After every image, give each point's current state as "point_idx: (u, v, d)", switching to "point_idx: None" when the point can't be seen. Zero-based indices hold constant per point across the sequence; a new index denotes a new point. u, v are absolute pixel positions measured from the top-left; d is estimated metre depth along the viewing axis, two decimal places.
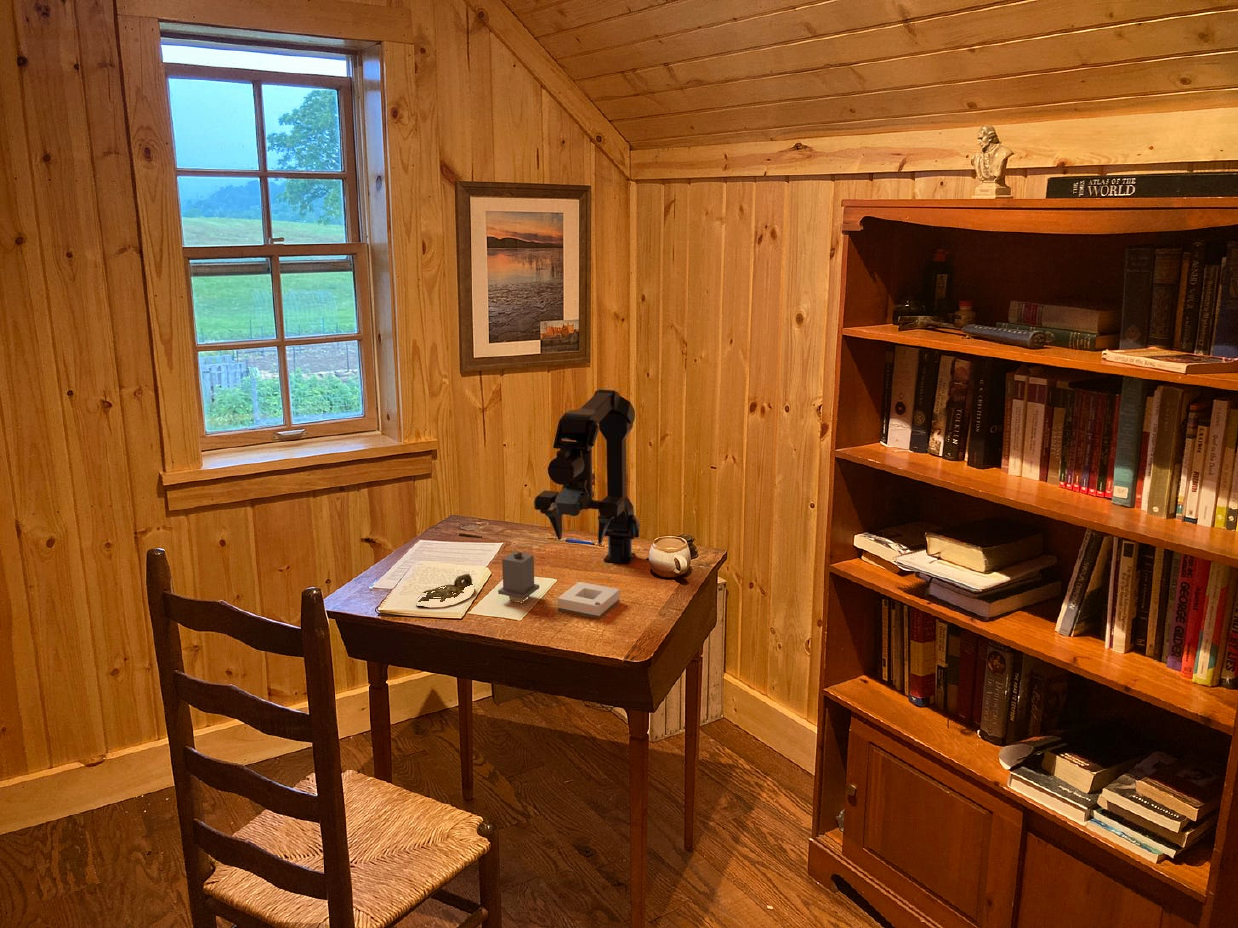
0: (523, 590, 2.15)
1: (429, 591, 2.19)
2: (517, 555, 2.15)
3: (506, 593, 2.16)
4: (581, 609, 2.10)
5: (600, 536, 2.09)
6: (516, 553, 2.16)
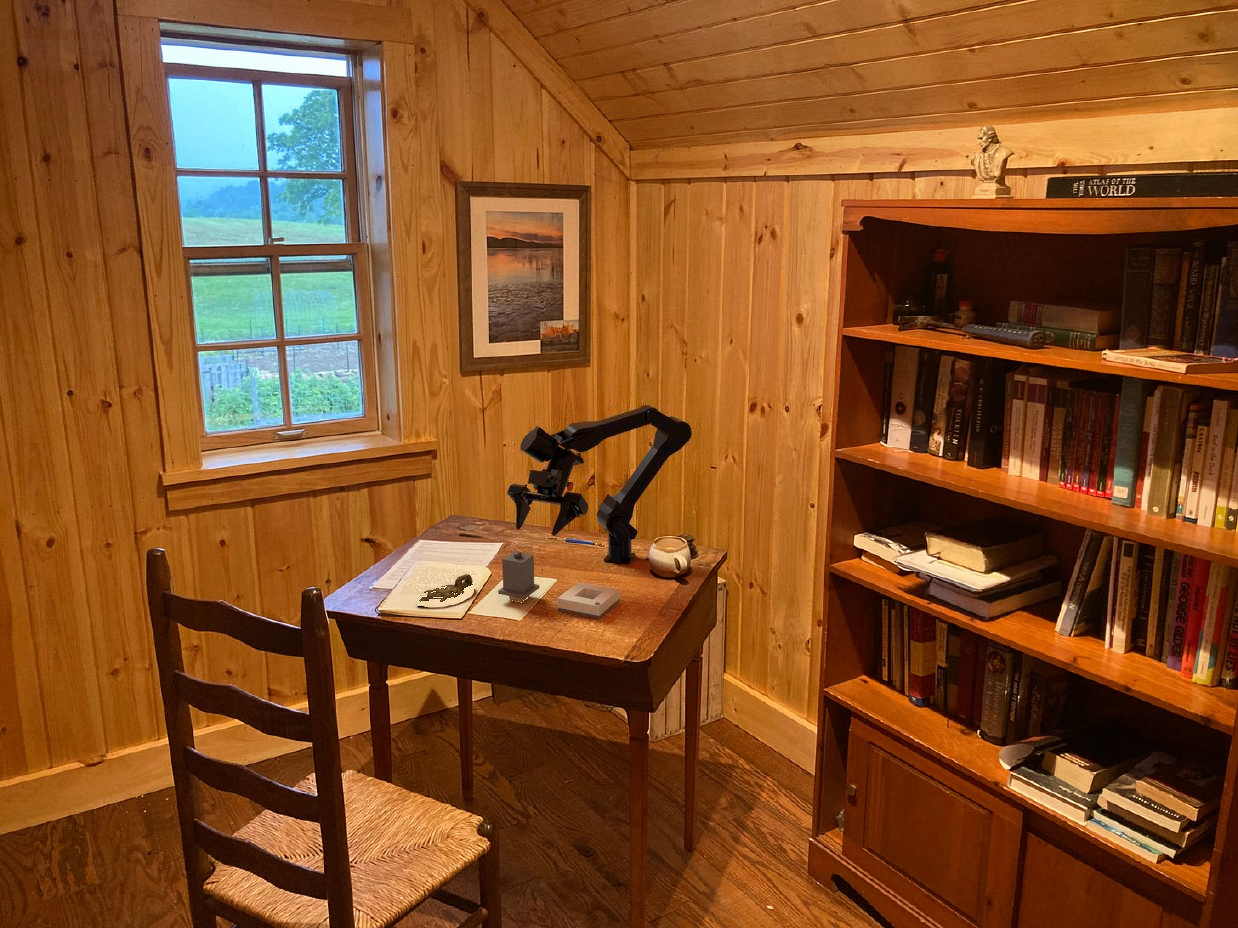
0: (523, 590, 2.15)
1: (429, 591, 2.19)
2: (517, 555, 2.15)
3: (506, 593, 2.16)
4: (581, 609, 2.10)
5: (556, 525, 2.20)
6: (516, 553, 2.16)
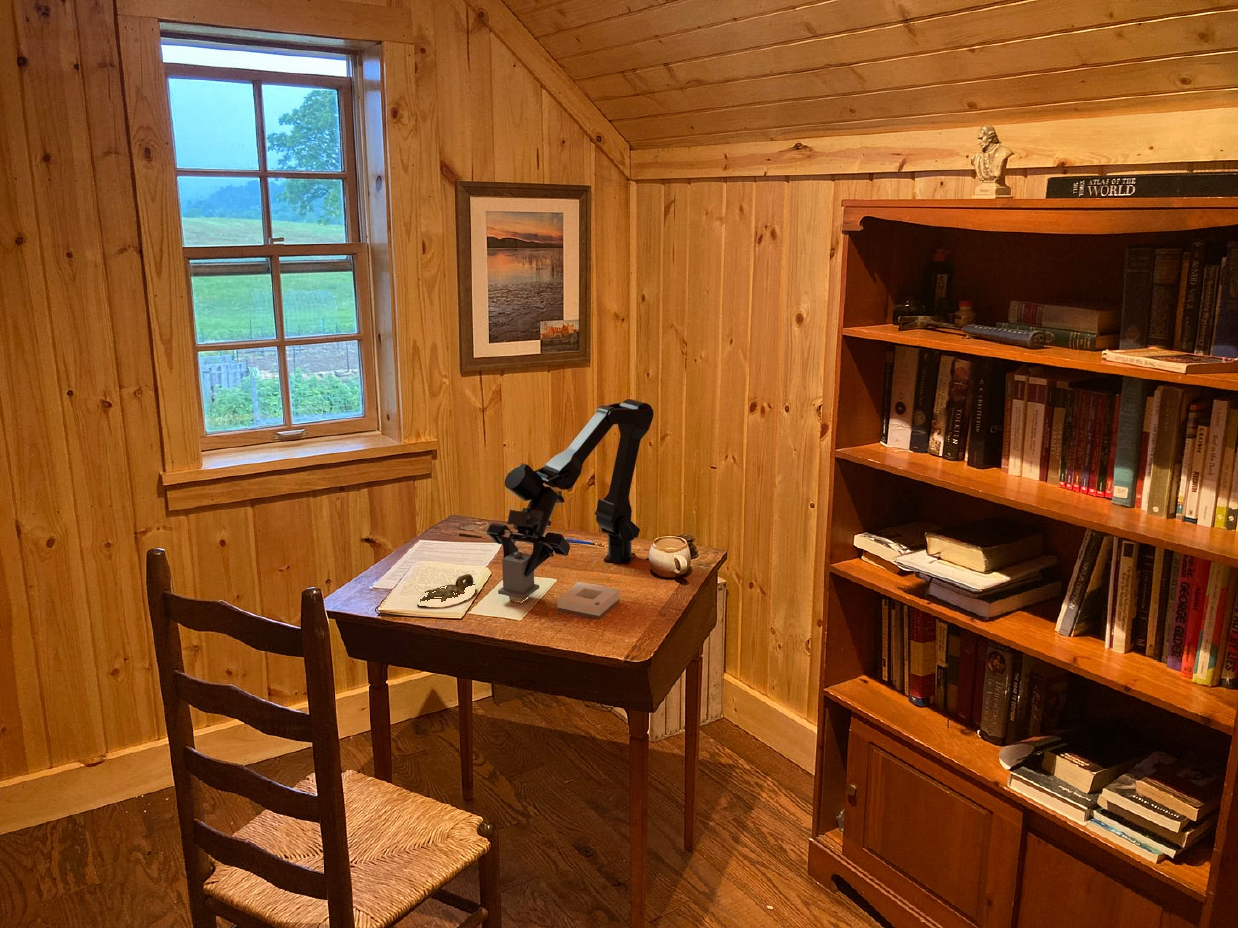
0: (523, 590, 2.15)
1: (430, 591, 2.19)
2: (517, 555, 2.15)
3: (506, 593, 2.16)
4: (581, 609, 2.10)
5: (528, 566, 2.14)
6: (516, 553, 2.16)
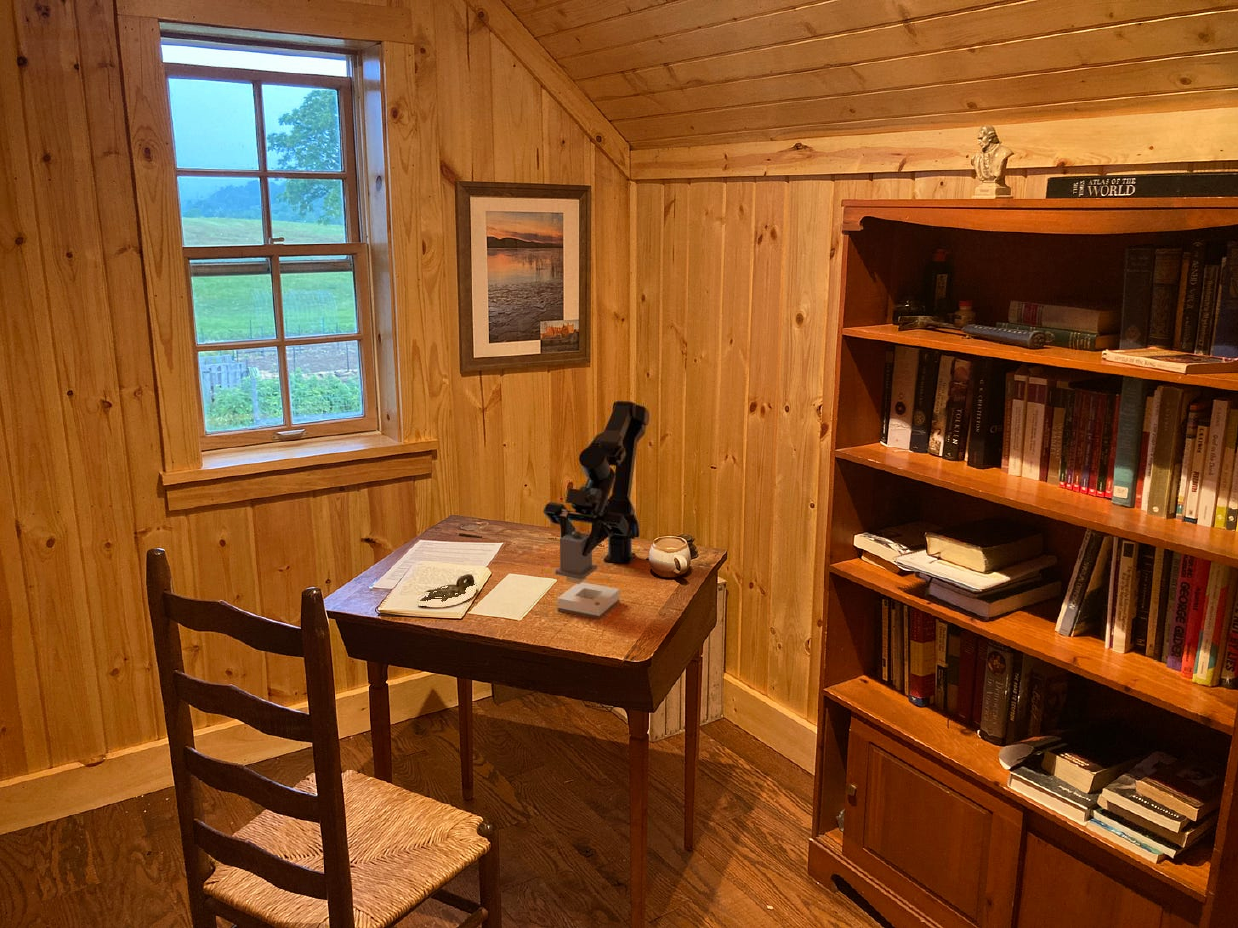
0: (581, 570, 2.10)
1: (431, 591, 2.19)
2: (575, 535, 2.10)
3: (563, 573, 2.11)
4: (581, 609, 2.10)
5: (587, 546, 2.10)
6: (574, 532, 2.11)
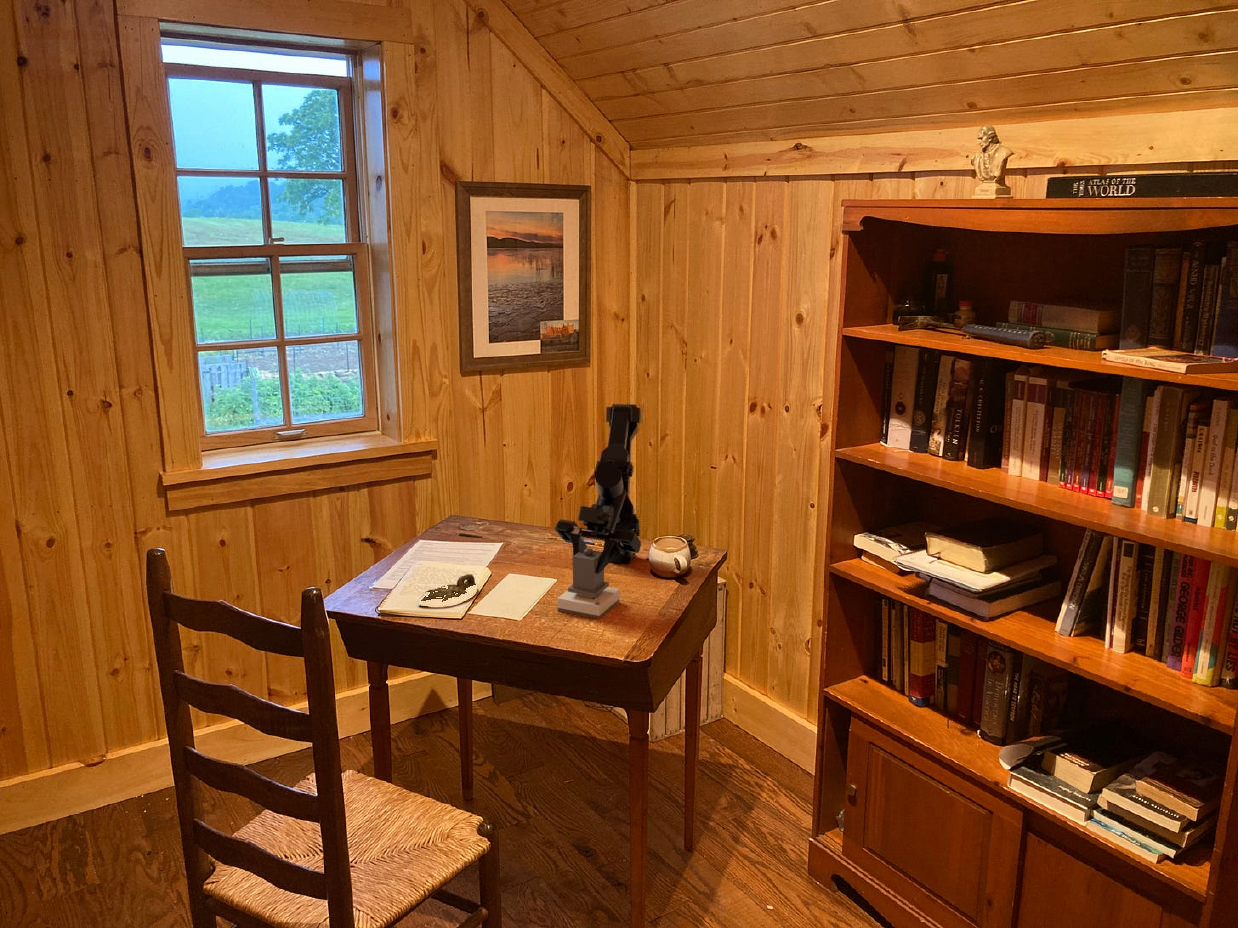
0: (594, 588, 2.11)
1: (432, 591, 2.19)
2: (588, 552, 2.11)
3: (576, 591, 2.11)
4: (581, 609, 2.10)
5: (600, 563, 2.10)
6: (587, 550, 2.11)
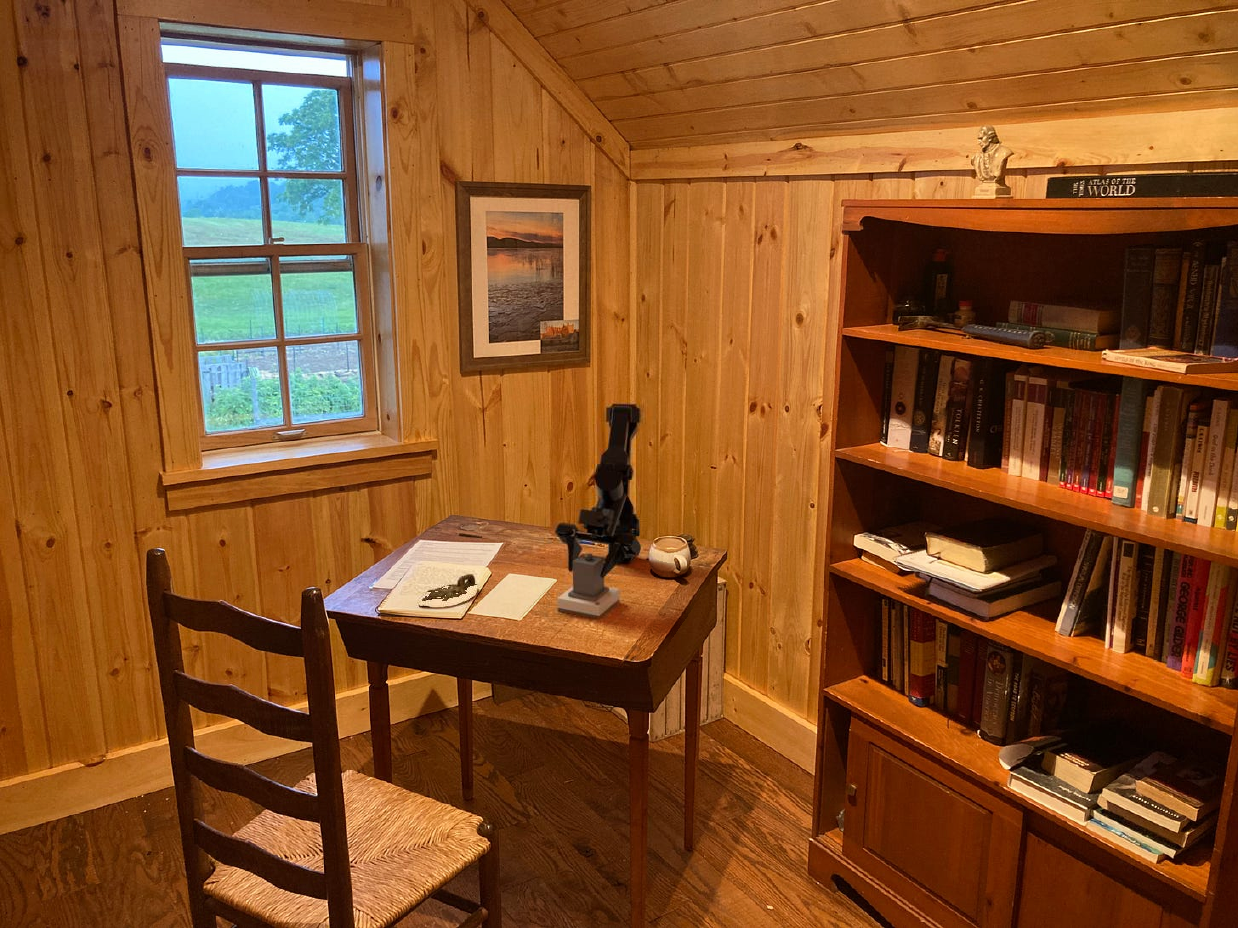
0: (594, 593, 2.11)
1: (432, 591, 2.19)
2: (588, 557, 2.11)
3: (576, 596, 2.12)
4: (581, 609, 2.10)
5: (604, 567, 2.10)
6: (587, 555, 2.12)
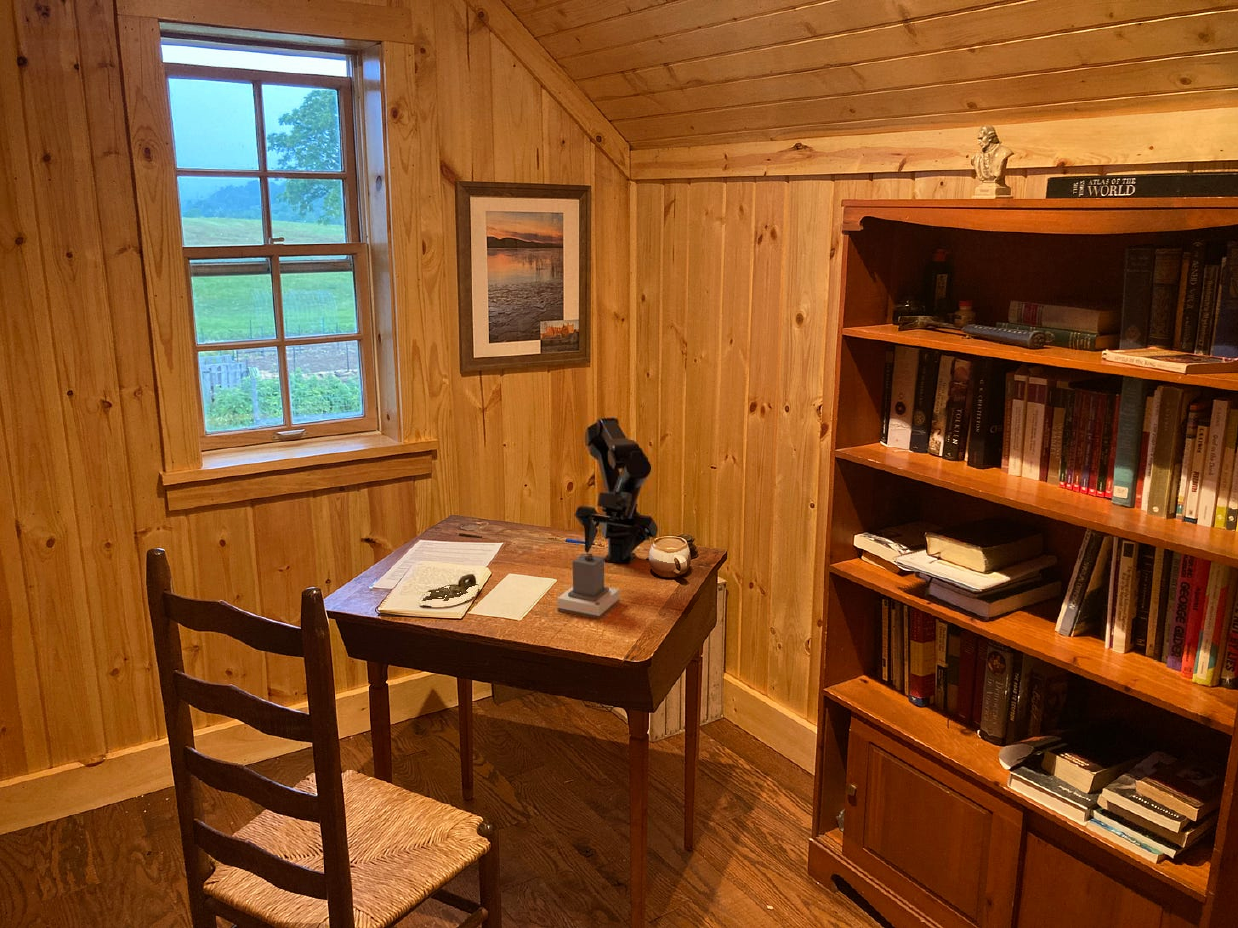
0: (594, 593, 2.11)
1: (433, 590, 2.19)
2: (588, 557, 2.11)
3: (576, 596, 2.12)
4: (581, 609, 2.10)
5: (626, 549, 2.17)
6: (587, 555, 2.12)
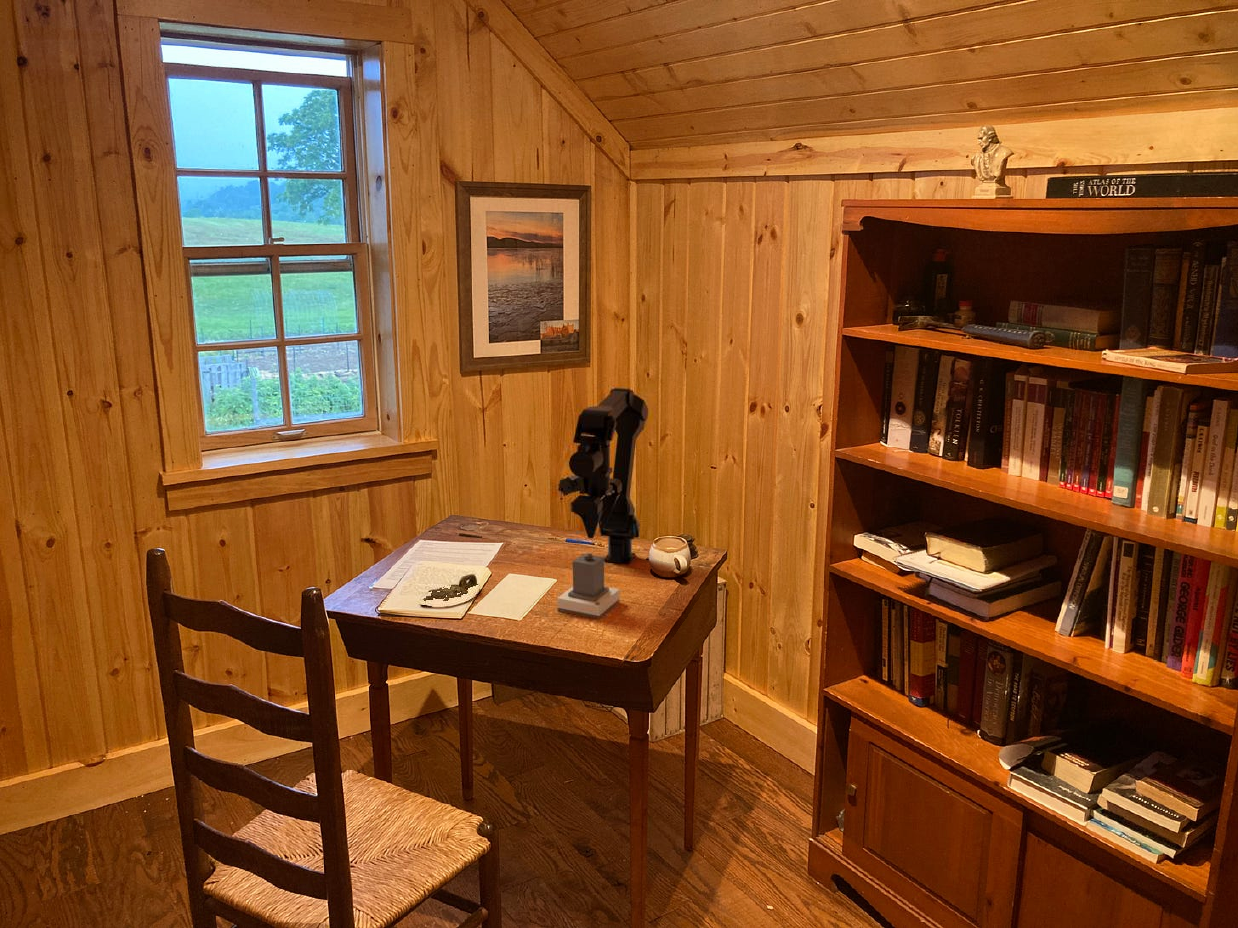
0: (594, 593, 2.11)
1: (434, 590, 2.20)
2: (588, 557, 2.11)
3: (576, 596, 2.12)
4: (581, 609, 2.10)
5: None
6: (587, 555, 2.12)
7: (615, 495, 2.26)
